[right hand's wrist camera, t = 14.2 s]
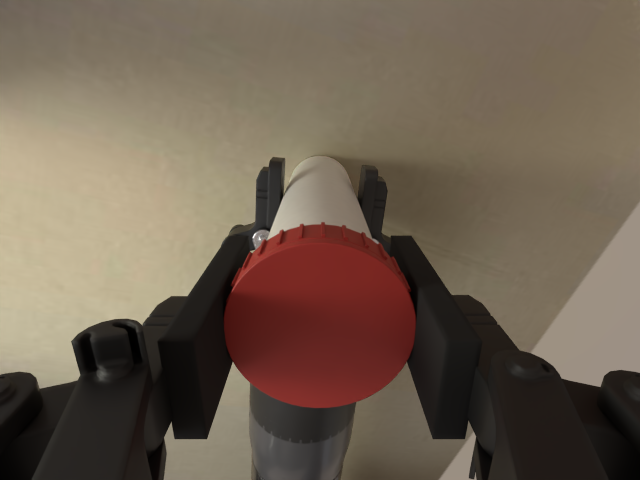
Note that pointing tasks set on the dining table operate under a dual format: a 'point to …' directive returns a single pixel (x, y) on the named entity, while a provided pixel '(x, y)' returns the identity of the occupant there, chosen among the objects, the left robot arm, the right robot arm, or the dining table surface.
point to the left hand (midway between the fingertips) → (323, 164)
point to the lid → (319, 317)
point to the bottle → (319, 198)
